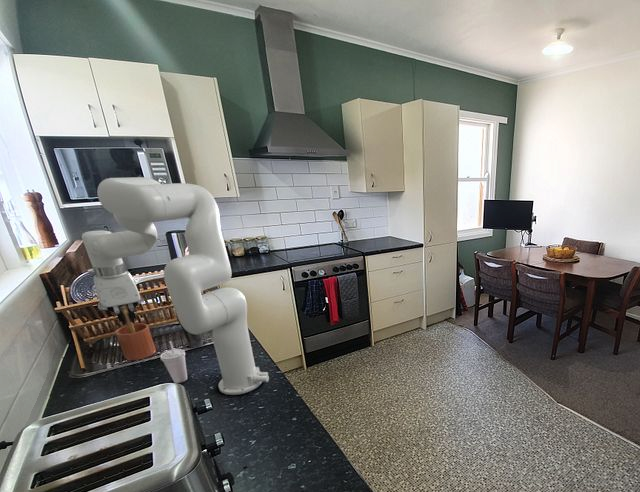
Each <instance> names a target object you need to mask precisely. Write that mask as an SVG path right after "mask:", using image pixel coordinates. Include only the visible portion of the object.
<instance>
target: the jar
mask: <svg viewBox="0 0 640 492" xmlns="http://www.w3.org/2000/svg"><path fill="white" fill-rule="evenodd" d="M133 326H134V328H135V331H136V332H135V333H131V334H129V331H128V329H127V326H126V325H124V326H121V327H119V328H117V329H116V330H115V331H114V334H115V337H116V339H117V342H118V344H119V347H120V350H121V354H122V355H123V358H124V360H127V361H139V360H143V359H147V358H149V357H151V356H153V355H154V354H156V352H157V349H156V345H155V342H154V338H153V336H152V333H151V330H150V327H149V325H148V324H147V323H141V322H140V323H133Z"/></svg>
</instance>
